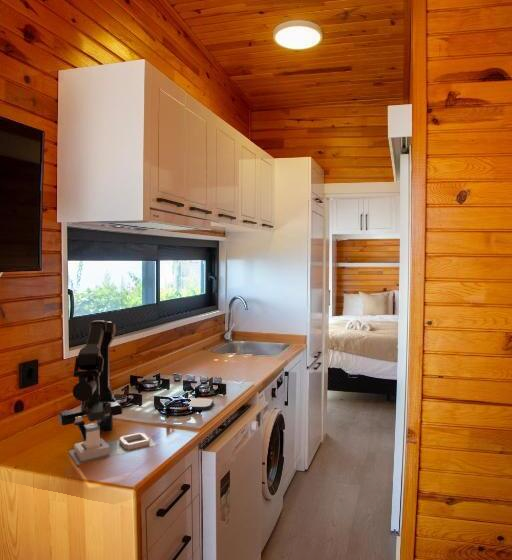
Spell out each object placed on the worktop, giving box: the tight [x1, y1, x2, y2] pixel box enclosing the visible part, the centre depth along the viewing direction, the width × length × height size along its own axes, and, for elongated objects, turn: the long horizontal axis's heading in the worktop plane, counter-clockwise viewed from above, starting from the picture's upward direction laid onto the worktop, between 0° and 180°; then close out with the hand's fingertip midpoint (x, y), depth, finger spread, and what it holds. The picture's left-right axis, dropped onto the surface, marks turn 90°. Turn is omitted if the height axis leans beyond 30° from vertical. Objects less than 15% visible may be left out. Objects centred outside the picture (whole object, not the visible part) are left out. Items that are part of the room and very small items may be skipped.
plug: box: [83, 422, 101, 450], centre depth 157 cm, size 4×4×7 cm
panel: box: [67, 432, 159, 468], centre depth 161 cm, size 12×26×4 cm, turn 123°
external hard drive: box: [187, 397, 214, 412], centre depth 207 cm, size 24×12×2 cm, turn 85°
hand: (91, 439), depth 157 cm, fingers closed on plug, 4 cm apart
